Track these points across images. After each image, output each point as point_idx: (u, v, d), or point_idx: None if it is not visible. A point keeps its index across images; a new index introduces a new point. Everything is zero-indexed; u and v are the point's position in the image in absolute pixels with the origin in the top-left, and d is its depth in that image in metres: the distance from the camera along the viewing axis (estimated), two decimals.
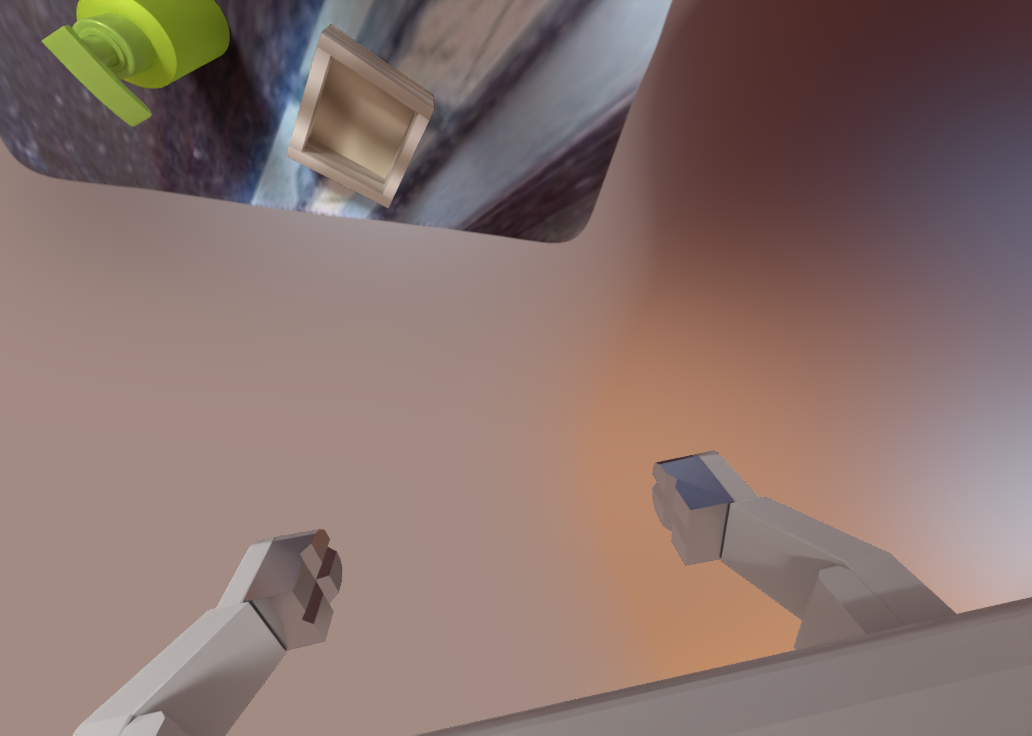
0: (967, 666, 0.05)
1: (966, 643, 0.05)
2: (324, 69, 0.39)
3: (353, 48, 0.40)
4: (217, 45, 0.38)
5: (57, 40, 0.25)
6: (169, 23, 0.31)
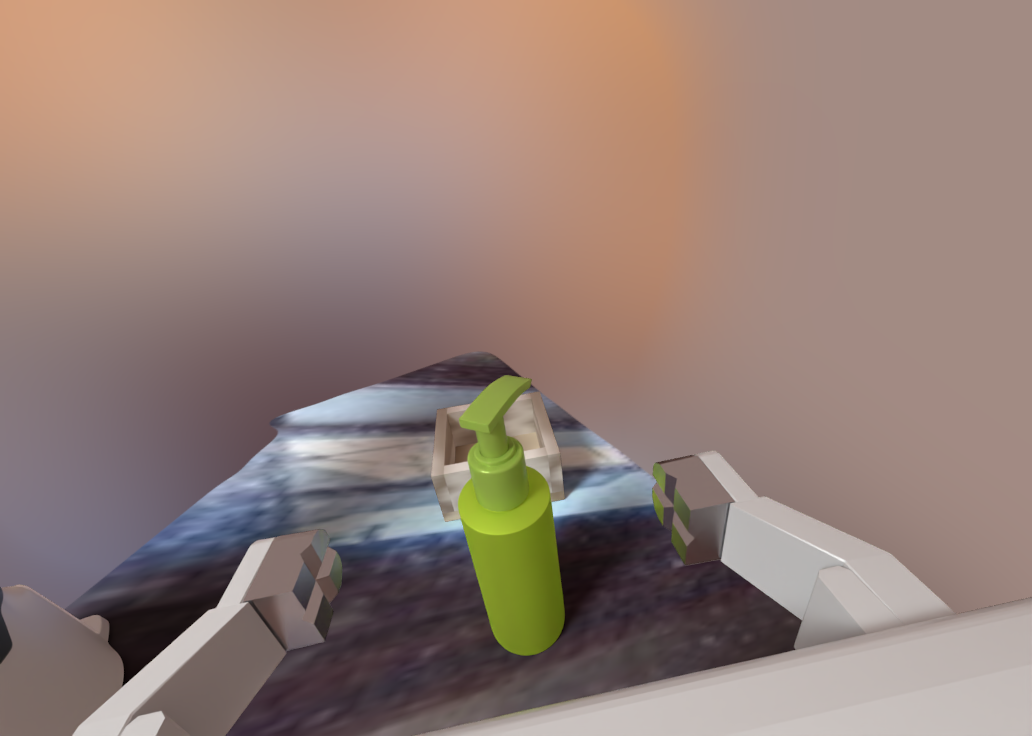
0: (967, 666, 0.05)
1: (966, 643, 0.05)
2: (458, 464, 0.39)
3: None
4: None
5: (477, 417, 0.21)
6: None
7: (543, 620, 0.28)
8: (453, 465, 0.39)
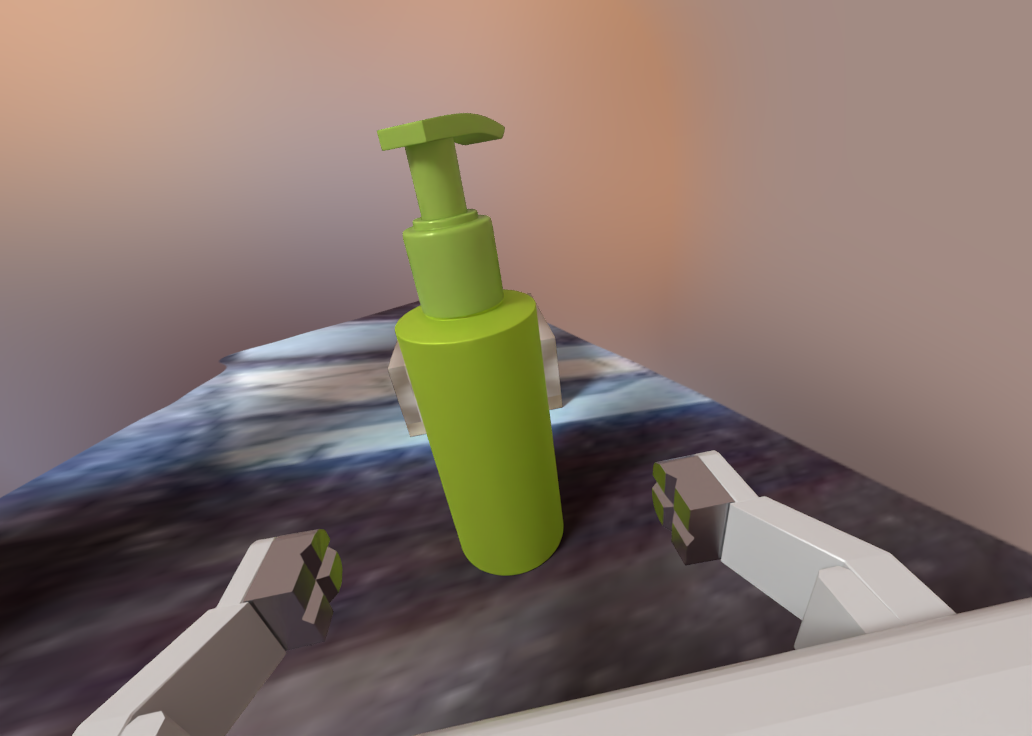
0: (967, 666, 0.05)
1: (966, 643, 0.05)
2: None
3: None
4: None
5: None
6: None
7: (531, 516, 0.19)
8: None
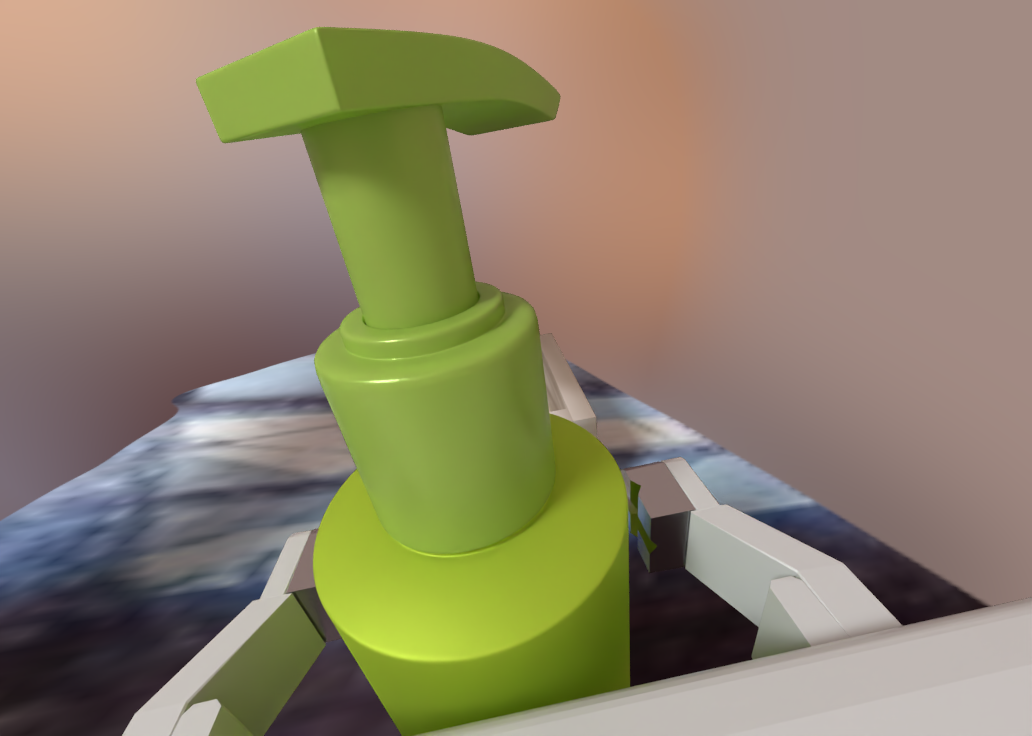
0: (967, 666, 0.05)
1: (966, 643, 0.05)
2: None
3: None
4: None
5: None
6: None
7: None
8: None
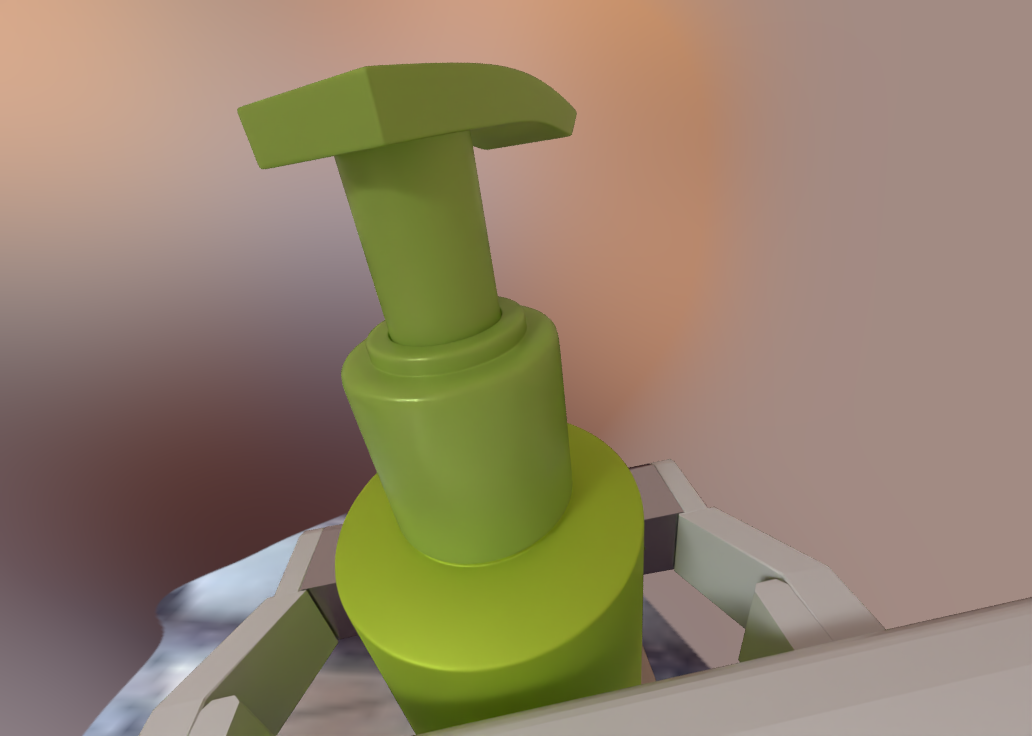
0: (967, 666, 0.05)
1: (966, 643, 0.05)
2: None
3: None
4: None
5: None
6: None
7: None
8: None
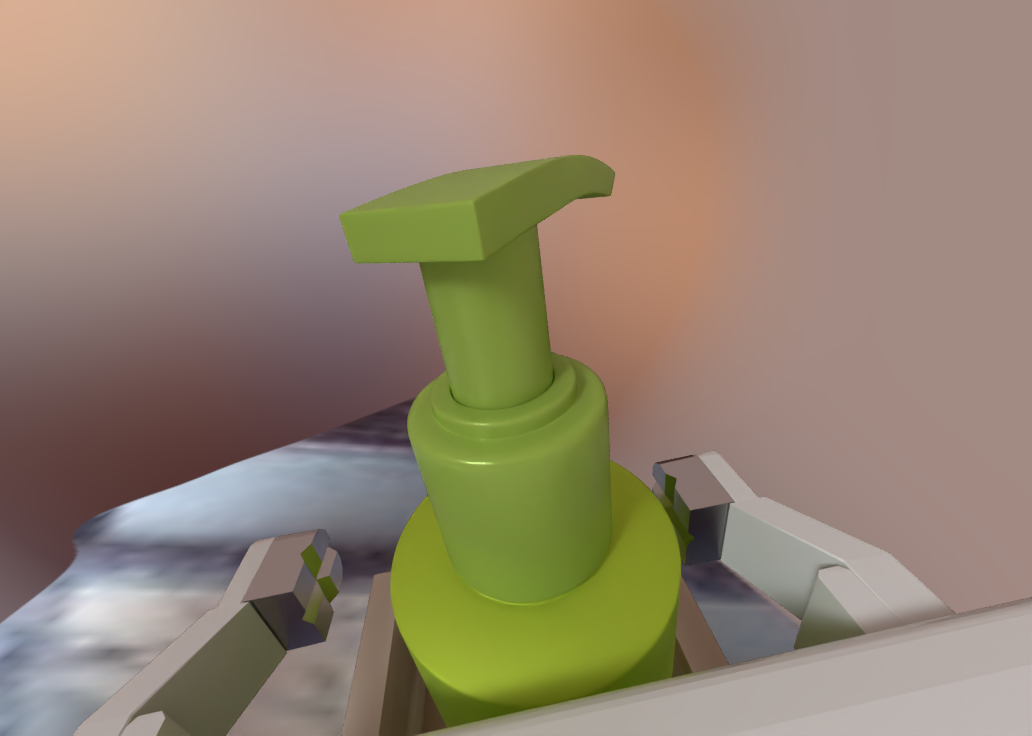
0: (967, 666, 0.05)
1: (966, 643, 0.05)
2: None
3: None
4: None
5: (421, 198, 0.04)
6: None
7: None
8: None
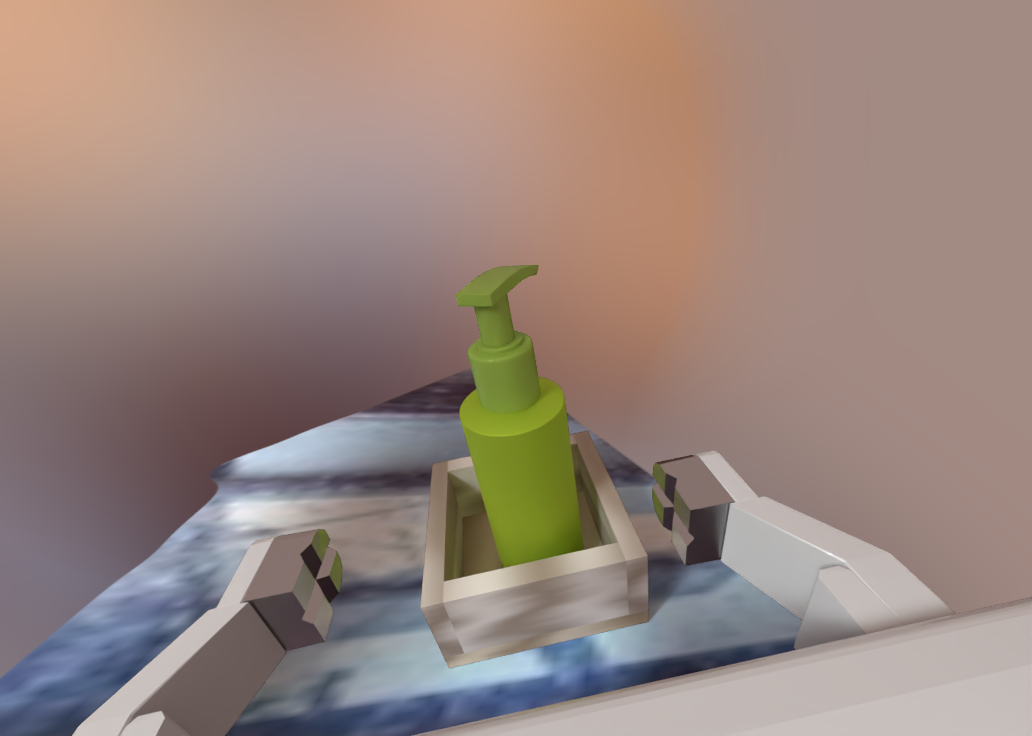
0: (967, 666, 0.05)
1: (966, 643, 0.05)
2: (468, 578, 0.22)
3: None
4: None
5: (476, 291, 0.18)
6: None
7: (561, 551, 0.24)
8: (459, 581, 0.22)
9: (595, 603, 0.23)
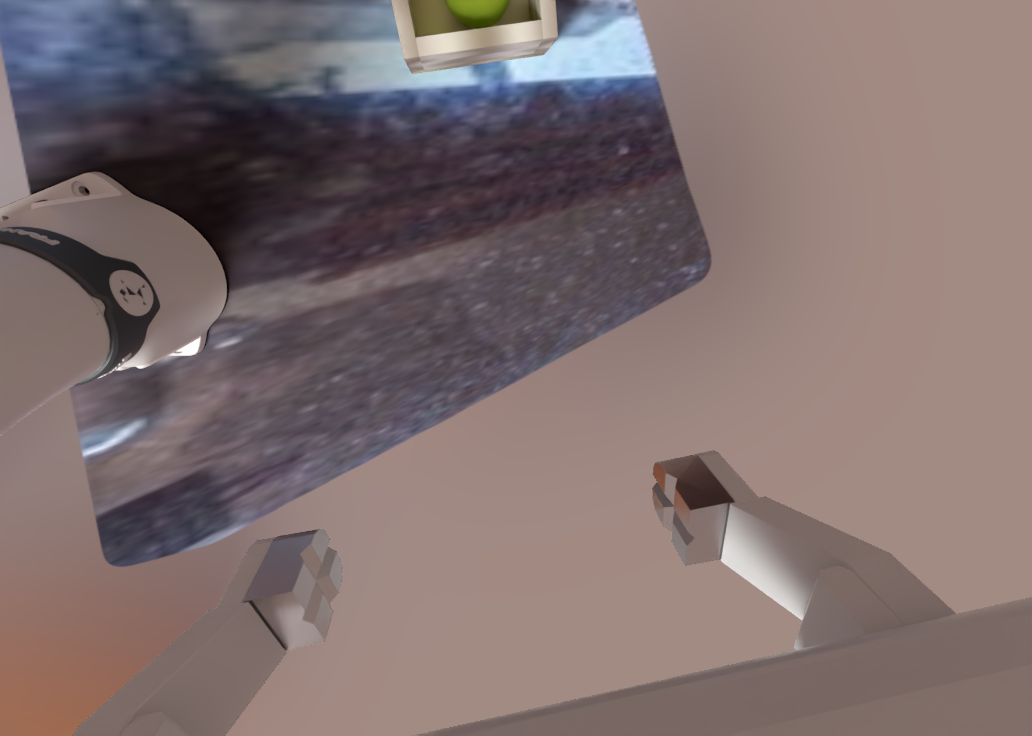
0: (967, 666, 0.05)
1: (966, 643, 0.05)
2: (433, 37, 0.31)
3: None
4: None
5: None
6: None
7: (498, 9, 0.32)
8: (427, 39, 0.31)
9: (514, 51, 0.35)
